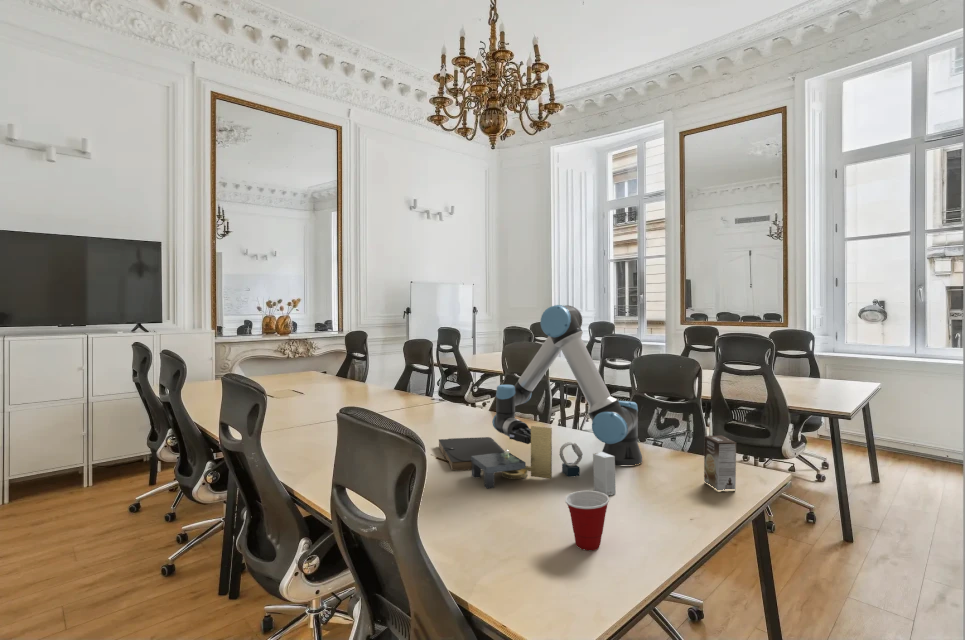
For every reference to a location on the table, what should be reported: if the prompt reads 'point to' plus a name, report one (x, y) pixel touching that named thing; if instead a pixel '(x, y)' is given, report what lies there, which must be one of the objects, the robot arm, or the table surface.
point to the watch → (571, 468)
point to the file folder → (467, 450)
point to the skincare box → (604, 473)
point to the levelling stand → (494, 465)
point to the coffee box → (720, 462)
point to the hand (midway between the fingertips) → (546, 444)
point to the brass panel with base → (537, 456)
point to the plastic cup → (587, 517)
